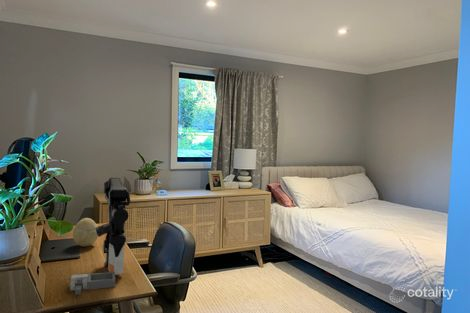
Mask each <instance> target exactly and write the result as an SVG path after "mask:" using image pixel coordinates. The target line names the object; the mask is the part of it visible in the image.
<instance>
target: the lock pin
mask: <svg viewBox="0 0 470 313" xmlns="http://www.w3.org/2000/svg"><path fill="white" fill-rule="evenodd" d="M82 290H83V280H76V288H75V290H74V296H80V295H81V296H82Z"/></svg>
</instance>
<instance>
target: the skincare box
mask: <svg viewBox="0 0 470 313" xmlns="http://www.w3.org/2000/svg"><path fill="white" fill-rule="evenodd" d="M124 258H125V245H123V247H122V249H121V251H120V254H119V256H118V257H115V253H114V247H113V245H112V244H110V243H109V262H108V267H107V268H108V269H107V270H108V272H115V276H117V275H120V274H123V273H124V264H125V263H124V261H125V260H124Z"/></svg>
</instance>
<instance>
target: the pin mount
mask: <svg viewBox="0 0 470 313" xmlns="http://www.w3.org/2000/svg"><path fill="white" fill-rule="evenodd" d="M88 274H89V273H82V274H71V276H70V287H69V288H70V291H71V292H72V291H75V288H76V283H77V280H83V284H82V290H87V283H88Z"/></svg>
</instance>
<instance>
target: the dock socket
mask: <svg viewBox="0 0 470 313" xmlns="http://www.w3.org/2000/svg"><path fill="white" fill-rule="evenodd" d="M87 274H88V283H87V289H86V290H88V291H89V290H95V289H97V290H99V289H107V288H108V289H109V288H115V287H116V275H115V272H110V271H108V272H95V273H87Z"/></svg>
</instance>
